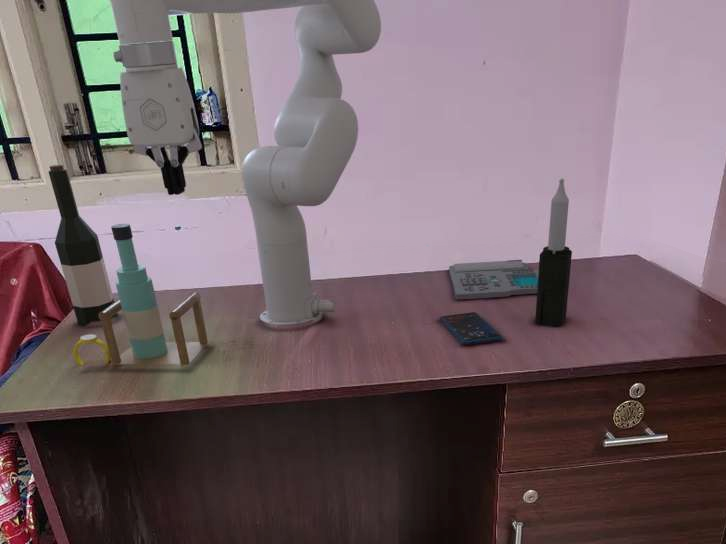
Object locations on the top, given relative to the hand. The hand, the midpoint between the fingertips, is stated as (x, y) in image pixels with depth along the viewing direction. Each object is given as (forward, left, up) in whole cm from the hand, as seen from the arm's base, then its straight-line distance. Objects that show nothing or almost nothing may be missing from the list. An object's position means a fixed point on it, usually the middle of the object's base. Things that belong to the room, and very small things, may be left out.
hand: (176, 192), depth 114 cm
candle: (-61, -19, -28) cm, 70 cm away
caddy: (+9, 0, -28) cm, 29 cm away
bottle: (+6, 0, -26) cm, 27 cm away
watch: (+19, +5, -28) cm, 34 cm away
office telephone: (-51, -45, -28) cm, 74 cm away
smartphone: (-46, -14, -28) cm, 56 cm away
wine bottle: (+32, -21, -28) cm, 47 cm away
